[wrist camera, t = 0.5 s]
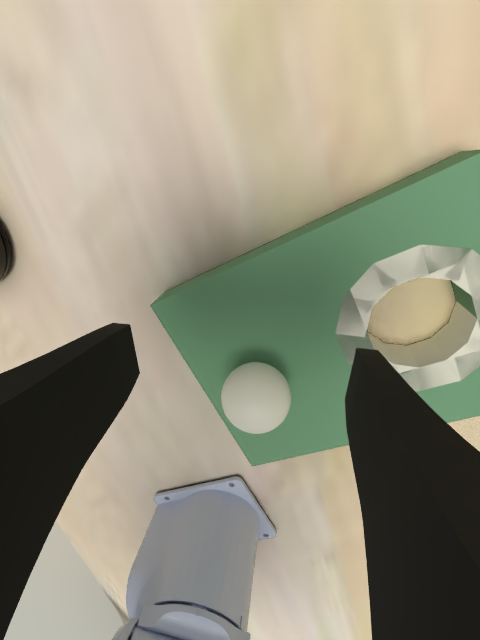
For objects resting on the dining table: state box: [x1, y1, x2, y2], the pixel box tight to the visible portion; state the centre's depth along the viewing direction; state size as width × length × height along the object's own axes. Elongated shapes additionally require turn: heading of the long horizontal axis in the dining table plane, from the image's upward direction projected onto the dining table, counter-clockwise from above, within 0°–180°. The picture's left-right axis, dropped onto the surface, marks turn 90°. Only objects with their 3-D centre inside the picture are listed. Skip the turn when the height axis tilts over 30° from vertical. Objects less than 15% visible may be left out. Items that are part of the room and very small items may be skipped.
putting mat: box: [150, 150, 480, 466], centre depth 20 cm, size 18×14×2 cm
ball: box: [221, 362, 291, 434], centre depth 18 cm, size 4×4×4 cm
